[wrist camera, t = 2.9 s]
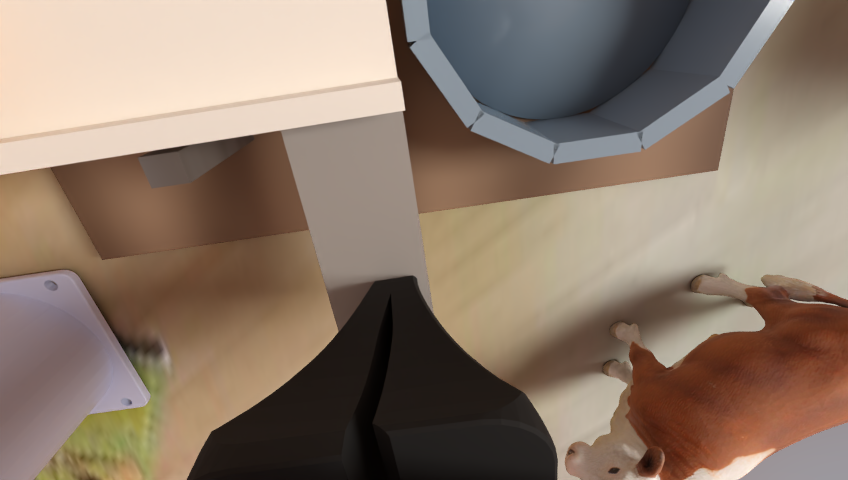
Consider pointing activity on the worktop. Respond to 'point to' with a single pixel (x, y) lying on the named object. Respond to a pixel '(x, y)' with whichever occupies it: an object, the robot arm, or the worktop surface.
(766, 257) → the worktop surface
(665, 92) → the bowl
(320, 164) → the tilted wooden ramp
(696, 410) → the bull figurine
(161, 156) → the base board
